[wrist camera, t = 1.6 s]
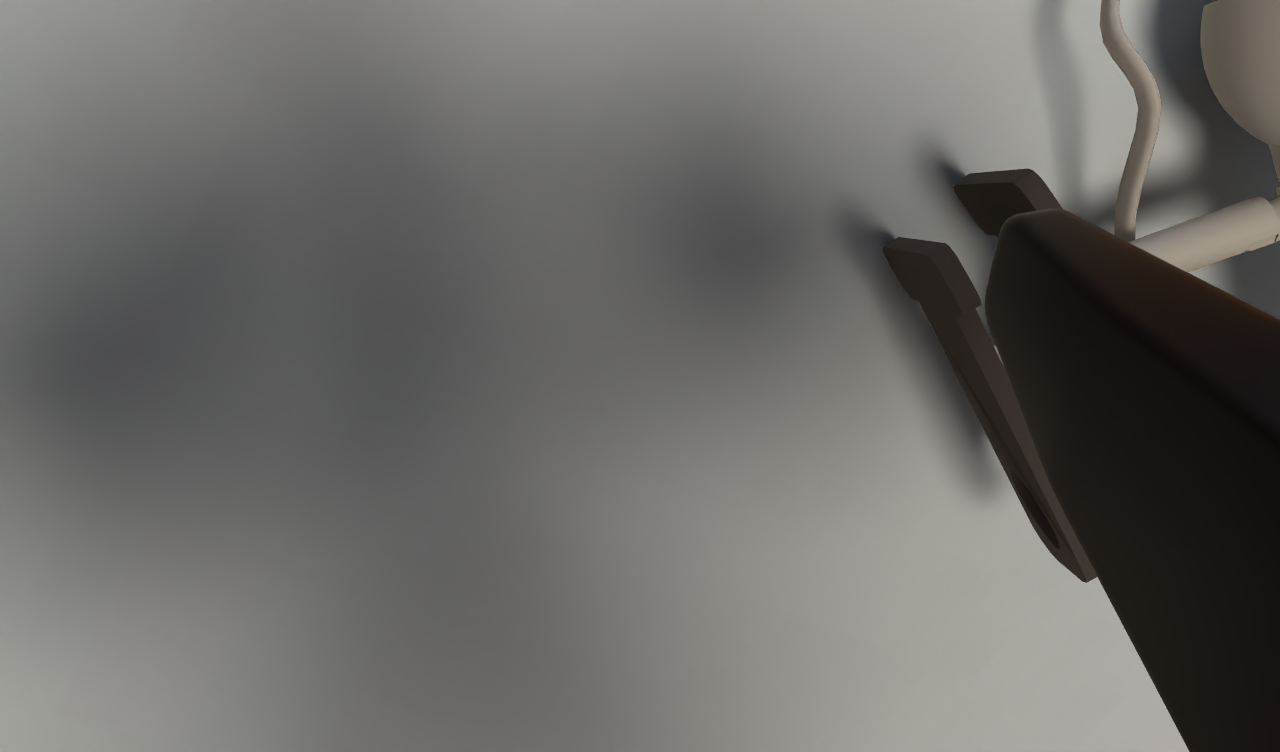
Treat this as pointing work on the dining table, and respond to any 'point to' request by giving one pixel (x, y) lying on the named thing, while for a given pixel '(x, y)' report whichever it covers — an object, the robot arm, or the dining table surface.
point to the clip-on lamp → (932, 274)
